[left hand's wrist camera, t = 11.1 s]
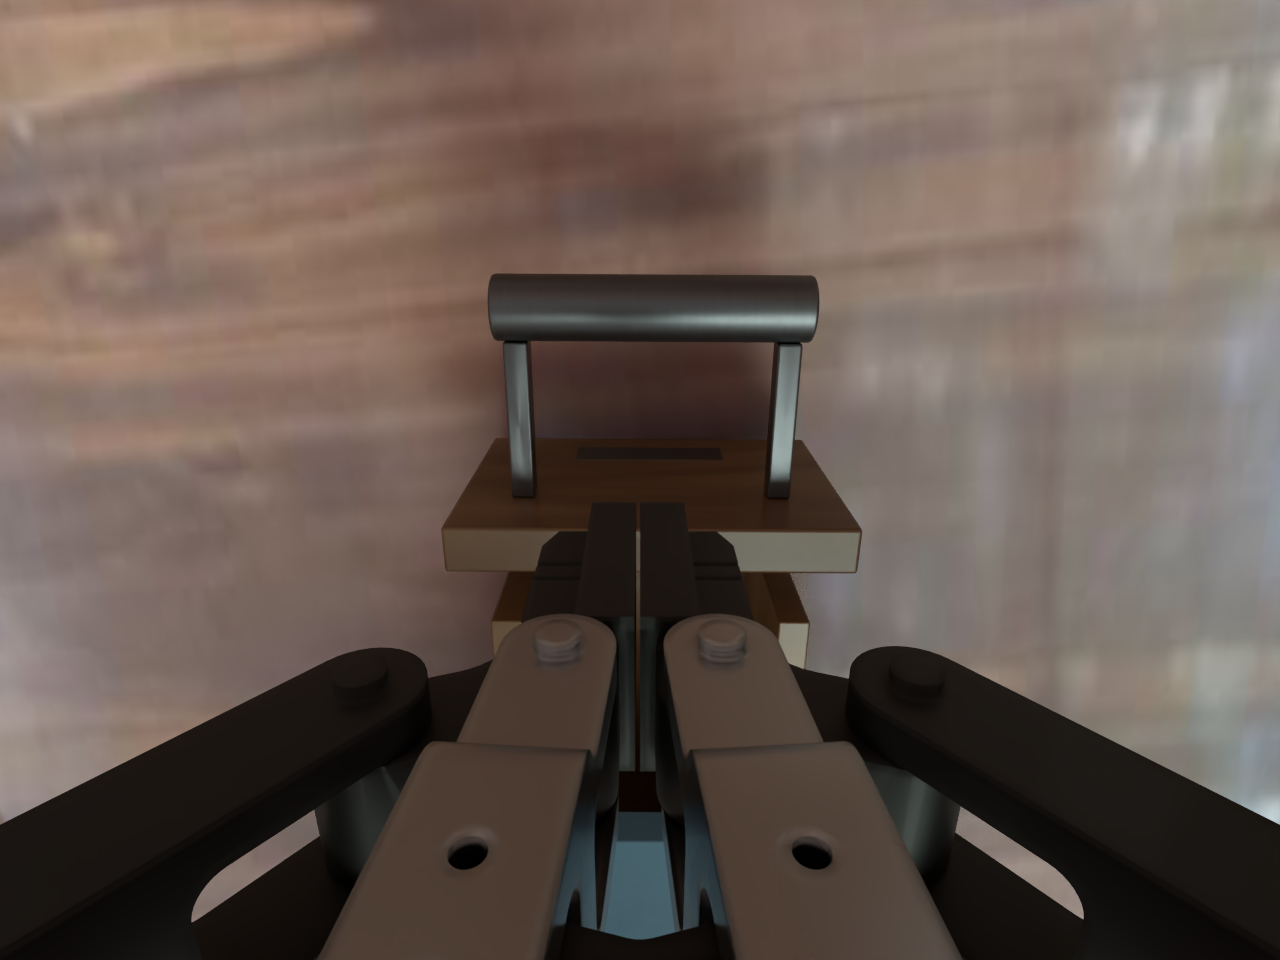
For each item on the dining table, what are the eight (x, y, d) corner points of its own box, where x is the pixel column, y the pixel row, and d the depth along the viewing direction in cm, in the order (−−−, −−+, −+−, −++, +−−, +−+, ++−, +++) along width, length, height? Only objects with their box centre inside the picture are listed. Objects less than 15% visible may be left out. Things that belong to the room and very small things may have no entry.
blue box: (499, 646, 28) (437, 840, 19) (792, 647, 28) (859, 842, 19) (526, 1010, 35) (490, 1265, 27) (758, 1011, 35) (794, 1266, 27)
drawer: (482, 257, 22) (414, 282, 15) (818, 260, 22) (894, 286, 15) (525, 876, 31) (494, 1058, 24) (762, 877, 31) (795, 1059, 24)
